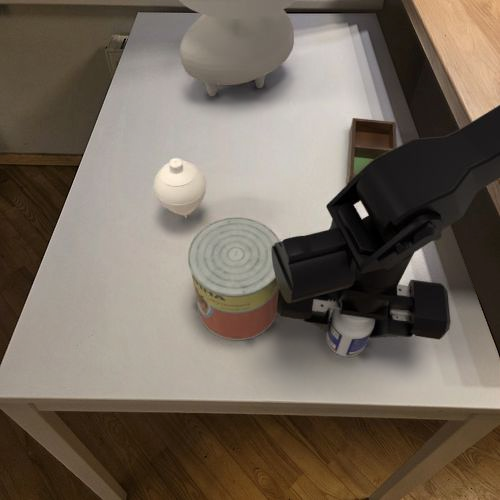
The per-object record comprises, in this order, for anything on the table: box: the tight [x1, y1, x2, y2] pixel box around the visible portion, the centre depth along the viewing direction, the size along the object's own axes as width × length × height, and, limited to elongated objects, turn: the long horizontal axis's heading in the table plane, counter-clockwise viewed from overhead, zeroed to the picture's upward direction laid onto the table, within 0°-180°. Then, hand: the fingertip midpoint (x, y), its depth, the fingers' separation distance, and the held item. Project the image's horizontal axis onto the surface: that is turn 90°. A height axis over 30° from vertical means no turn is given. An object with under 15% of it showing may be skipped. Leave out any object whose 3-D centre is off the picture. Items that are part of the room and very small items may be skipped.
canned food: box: [187, 217, 281, 342], centre depth 58 cm, size 11×11×12 cm
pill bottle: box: [325, 309, 375, 358], centre depth 56 cm, size 5×5×9 cm
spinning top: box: [153, 157, 207, 219], centre depth 67 cm, size 8×8×12 cm
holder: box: [346, 117, 398, 185], centre depth 78 cm, size 8×15×3 cm, turn 171°
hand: (348, 331), depth 58 cm, fingers closed on pill bottle, 5 cm apart
